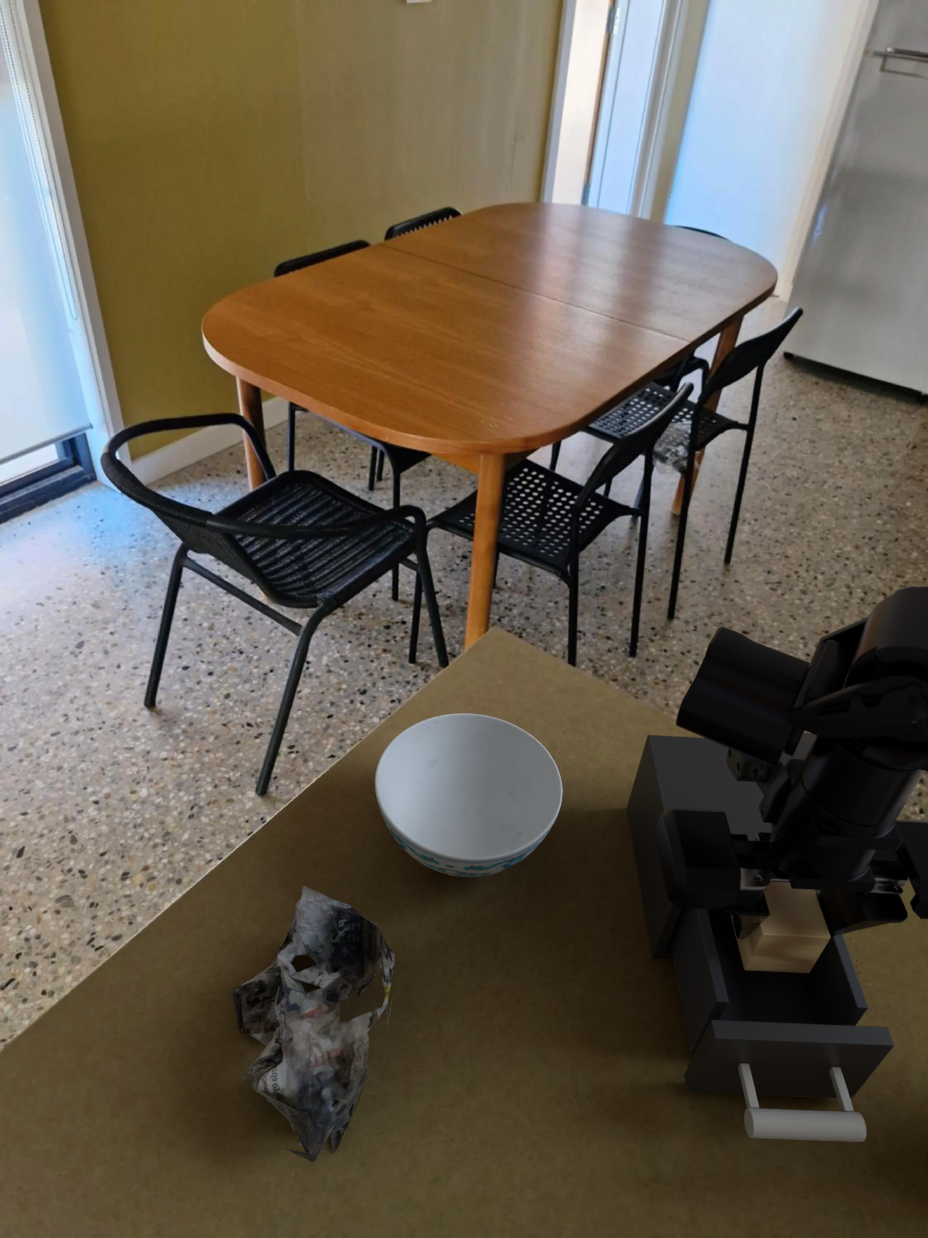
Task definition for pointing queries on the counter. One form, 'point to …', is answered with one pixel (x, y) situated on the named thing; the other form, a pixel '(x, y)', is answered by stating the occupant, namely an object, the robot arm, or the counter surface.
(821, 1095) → the pulled-out drawer
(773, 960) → the block
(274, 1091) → the foil
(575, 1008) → the counter surface
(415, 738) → the chinaware
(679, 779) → the drawer cabinet
